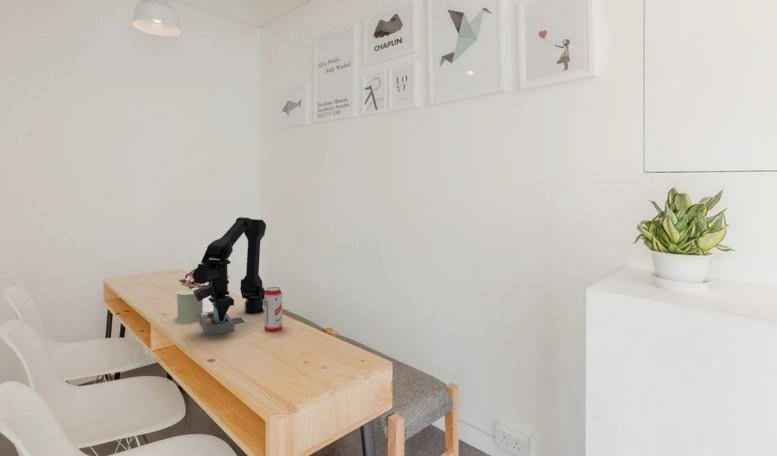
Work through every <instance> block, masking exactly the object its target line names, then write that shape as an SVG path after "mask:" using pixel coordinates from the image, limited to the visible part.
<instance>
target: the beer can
mask: <svg viewBox="0 0 777 456" xmlns="http://www.w3.org/2000/svg"><path fill="white" fill-rule="evenodd" d="M265 291H266V292H265V299H264V331H266V332H267V333H275V332H276V333H277V332H279V331H281V330H282V328H283V293H282V290H281V288H280V287H279V286H272V287H267V288H265Z"/></svg>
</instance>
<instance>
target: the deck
mask: <svg viewBox="0 0 777 456" xmlns="http://www.w3.org/2000/svg"><path fill="white" fill-rule="evenodd" d="M231 319H232V321H233V322H234V325H238V324H244V323H246V322H245V320H244V319H243V318H242V317H241V316H239V317H234V318H231Z"/></svg>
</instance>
